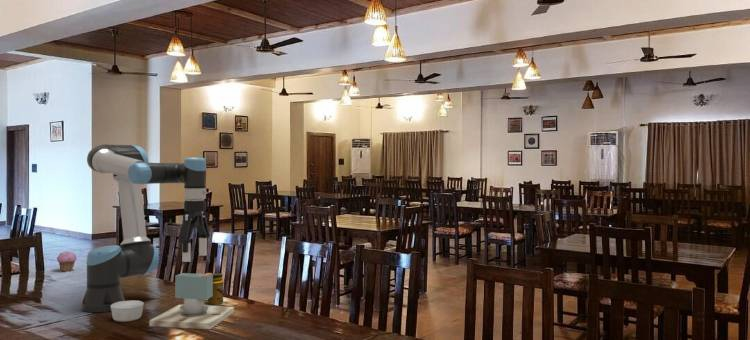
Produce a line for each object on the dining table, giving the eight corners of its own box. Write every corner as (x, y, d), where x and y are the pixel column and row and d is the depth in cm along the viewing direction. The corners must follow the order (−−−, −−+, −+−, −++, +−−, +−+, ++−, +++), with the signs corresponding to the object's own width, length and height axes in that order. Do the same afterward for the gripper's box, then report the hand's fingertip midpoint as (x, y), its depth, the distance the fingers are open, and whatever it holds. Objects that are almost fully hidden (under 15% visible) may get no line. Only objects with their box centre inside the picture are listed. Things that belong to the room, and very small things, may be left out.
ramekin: (122, 324, 194) (122, 309, 194) (103, 319, 200) (103, 304, 200) (150, 317, 203) (150, 303, 203) (131, 312, 209) (131, 298, 209)
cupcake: (54, 271, 285) (54, 251, 285) (72, 268, 291) (72, 249, 291) (61, 273, 279) (61, 253, 279) (79, 271, 286) (79, 251, 286)
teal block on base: (173, 313, 199) (173, 275, 199) (182, 308, 206) (183, 271, 206) (205, 315, 197) (205, 276, 197) (213, 310, 204) (213, 272, 204)
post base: (149, 326, 192) (149, 319, 192) (179, 309, 214) (179, 303, 214) (210, 329, 189) (210, 322, 189) (234, 312, 211) (234, 306, 211)
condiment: (226, 304, 223) (226, 274, 223) (205, 307, 218) (205, 276, 218) (220, 300, 229) (220, 271, 229) (200, 303, 224) (200, 273, 224)
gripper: (189, 202, 188) (189, 264, 188) (218, 198, 213) (218, 253, 213) (168, 202, 189) (168, 264, 189) (200, 198, 214) (199, 252, 214)
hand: (194, 258), depth 201 cm, fingers open, 13 cm apart
